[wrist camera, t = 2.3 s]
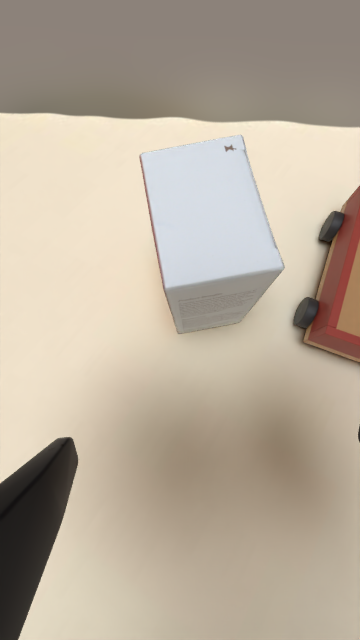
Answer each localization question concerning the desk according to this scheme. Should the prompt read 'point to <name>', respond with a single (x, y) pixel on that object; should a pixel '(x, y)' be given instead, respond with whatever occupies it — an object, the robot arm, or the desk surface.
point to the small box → (209, 232)
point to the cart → (337, 287)
